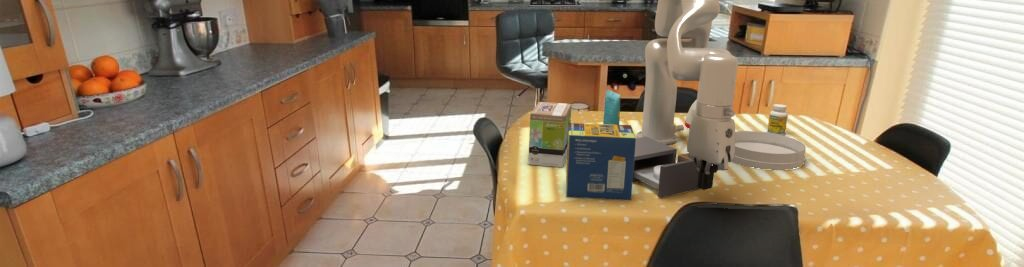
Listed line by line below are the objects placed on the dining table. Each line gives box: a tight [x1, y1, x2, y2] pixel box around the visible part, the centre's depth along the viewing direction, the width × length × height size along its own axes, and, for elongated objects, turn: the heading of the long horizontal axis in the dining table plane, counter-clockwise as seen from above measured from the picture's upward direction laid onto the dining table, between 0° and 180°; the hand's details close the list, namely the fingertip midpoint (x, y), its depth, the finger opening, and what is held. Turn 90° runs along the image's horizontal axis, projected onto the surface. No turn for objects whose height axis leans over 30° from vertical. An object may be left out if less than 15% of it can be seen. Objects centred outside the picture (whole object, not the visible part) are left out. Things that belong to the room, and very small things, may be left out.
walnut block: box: [676, 152, 692, 163], centre depth 144 cm, size 5×5×5 cm
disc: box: [653, 165, 663, 180], centre depth 137 cm, size 7×7×2 cm
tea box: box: [527, 101, 572, 168], centre depth 155 cm, size 15×10×15 cm, turn 168°
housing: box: [632, 137, 678, 184], centre depth 146 cm, size 12×15×7 cm
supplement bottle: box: [766, 103, 789, 136], centre depth 181 cm, size 5×5×10 cm
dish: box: [731, 130, 807, 171], centre depth 158 cm, size 22×22×5 cm
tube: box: [602, 89, 622, 125], centre depth 154 cm, size 7×5×19 cm, turn 26°
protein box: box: [565, 122, 637, 201], centre depth 131 cm, size 10×15×16 cm
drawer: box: [633, 160, 700, 199], centre depth 136 cm, size 12×15×8 cm
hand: (704, 188), depth 126 cm, fingers closed
